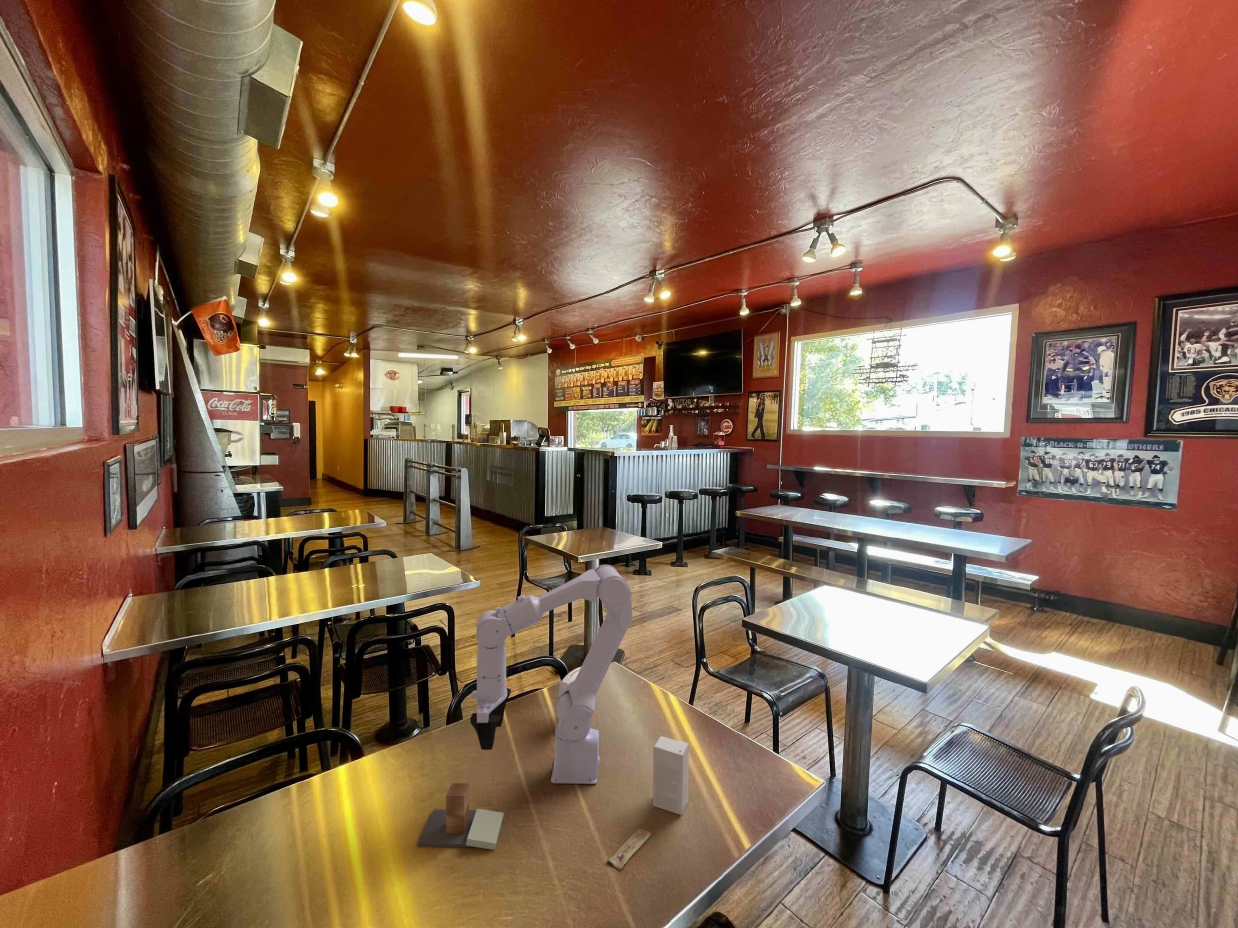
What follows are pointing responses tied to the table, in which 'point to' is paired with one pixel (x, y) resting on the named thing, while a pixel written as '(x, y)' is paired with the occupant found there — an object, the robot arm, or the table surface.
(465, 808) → the oak push block
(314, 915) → the table surface
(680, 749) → the skincare box
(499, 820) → the sage tile
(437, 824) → the mat
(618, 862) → the snack bar
